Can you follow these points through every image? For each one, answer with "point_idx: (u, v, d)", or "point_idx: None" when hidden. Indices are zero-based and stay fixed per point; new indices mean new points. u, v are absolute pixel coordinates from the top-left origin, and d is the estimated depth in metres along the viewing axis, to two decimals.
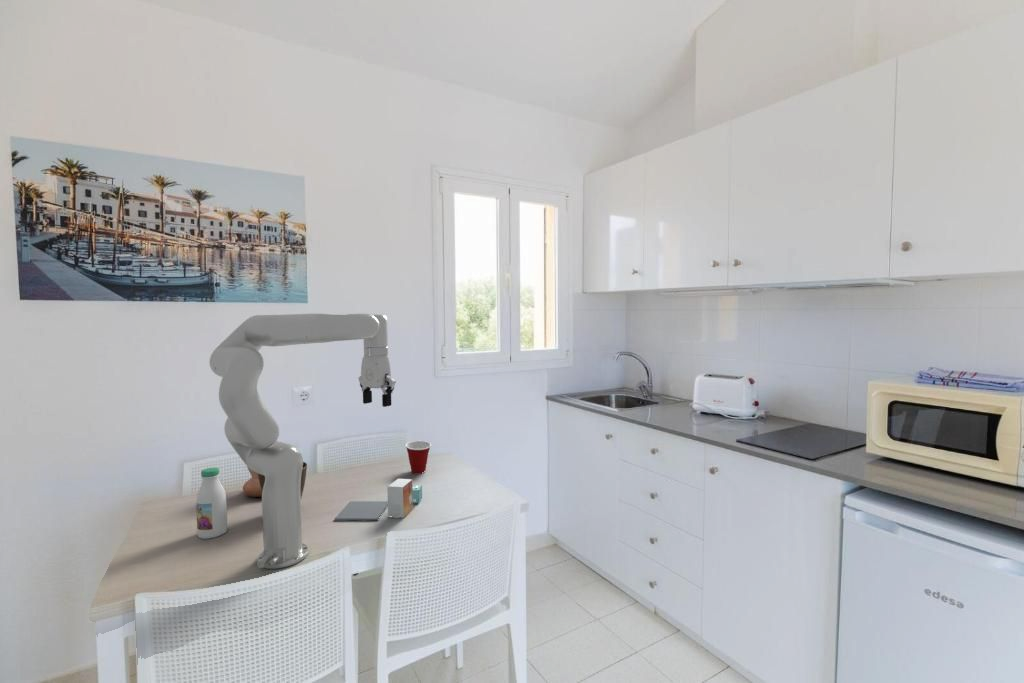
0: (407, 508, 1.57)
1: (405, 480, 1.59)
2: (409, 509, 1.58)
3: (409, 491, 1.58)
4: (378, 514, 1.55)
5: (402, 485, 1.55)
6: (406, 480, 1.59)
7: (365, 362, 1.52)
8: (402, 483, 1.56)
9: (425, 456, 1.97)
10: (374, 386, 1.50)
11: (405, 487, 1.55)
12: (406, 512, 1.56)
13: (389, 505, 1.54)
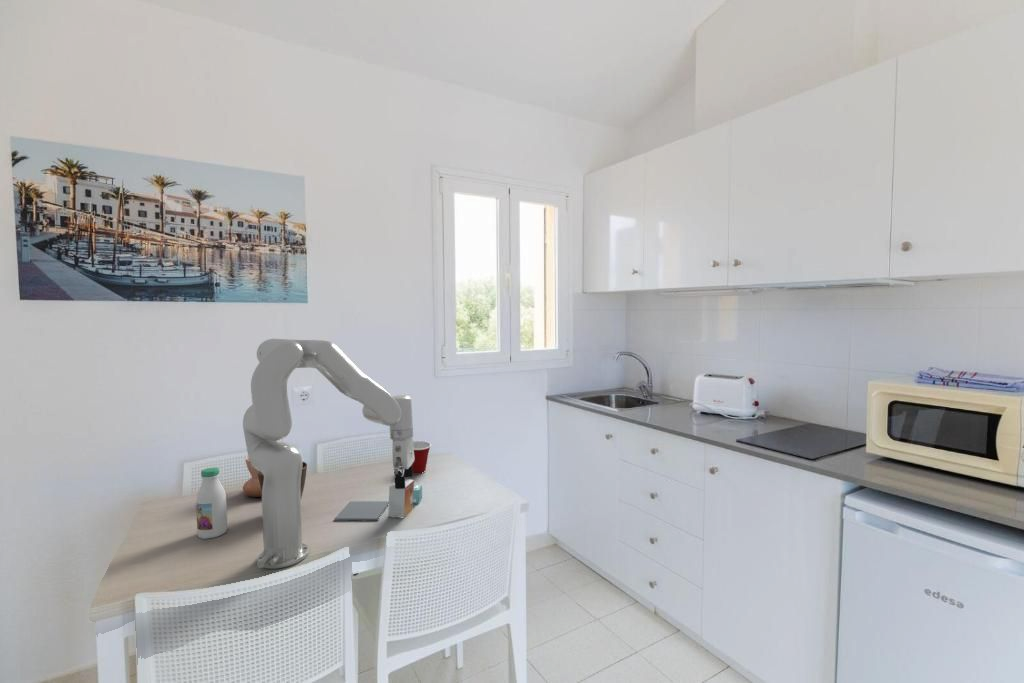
0: (408, 509, 1.57)
1: (407, 480, 1.59)
2: (409, 510, 1.58)
3: (410, 492, 1.58)
4: (378, 514, 1.55)
5: None
6: (408, 480, 1.59)
7: (408, 443, 1.55)
8: None
9: (425, 456, 1.97)
10: (413, 461, 1.60)
11: (407, 488, 1.55)
12: (406, 512, 1.56)
13: (390, 505, 1.54)
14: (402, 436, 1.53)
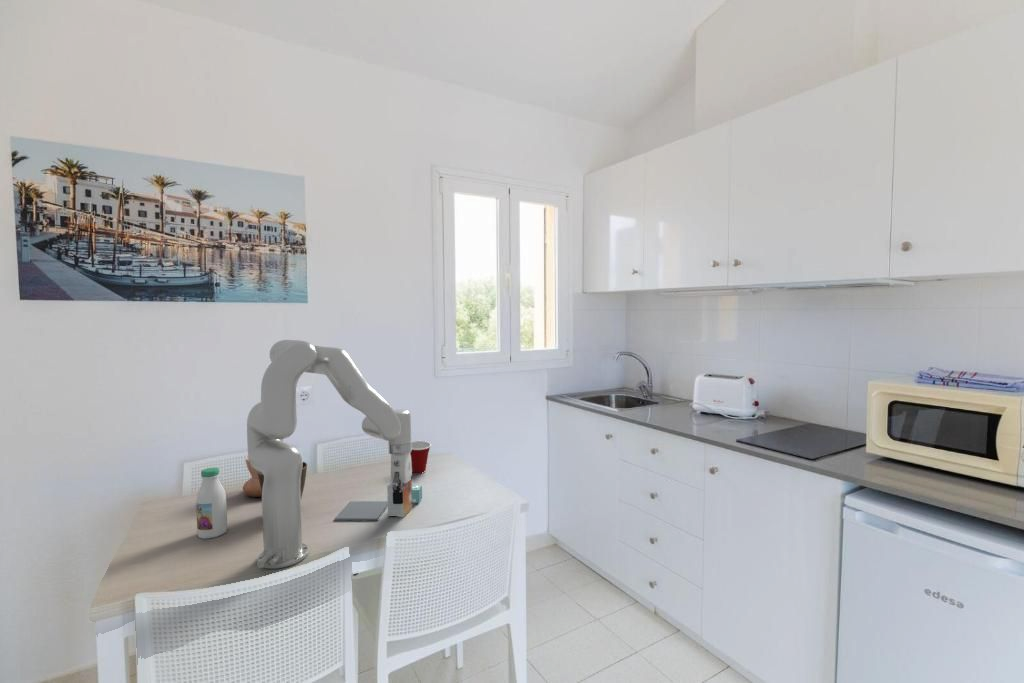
0: (407, 507, 1.57)
1: None
2: (408, 508, 1.59)
3: (409, 491, 1.59)
4: (378, 514, 1.55)
5: None
6: None
7: (407, 457, 1.55)
8: None
9: (425, 456, 1.97)
10: (410, 475, 1.60)
11: (405, 486, 1.55)
12: (406, 511, 1.56)
13: (389, 504, 1.55)
14: (401, 451, 1.53)
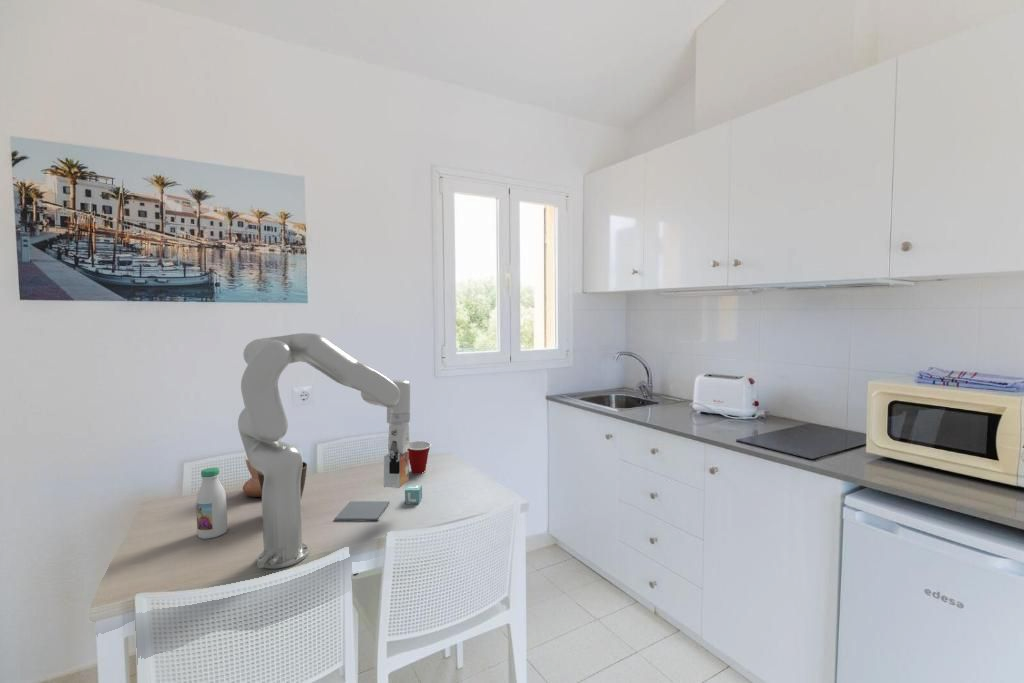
0: (403, 479, 1.56)
1: None
2: (405, 480, 1.57)
3: (405, 462, 1.57)
4: (378, 514, 1.55)
5: (399, 455, 1.54)
6: None
7: (405, 427, 1.54)
8: None
9: (425, 456, 1.97)
10: (408, 447, 1.59)
11: (402, 457, 1.54)
12: (402, 482, 1.55)
13: (385, 475, 1.53)
14: (399, 420, 1.52)
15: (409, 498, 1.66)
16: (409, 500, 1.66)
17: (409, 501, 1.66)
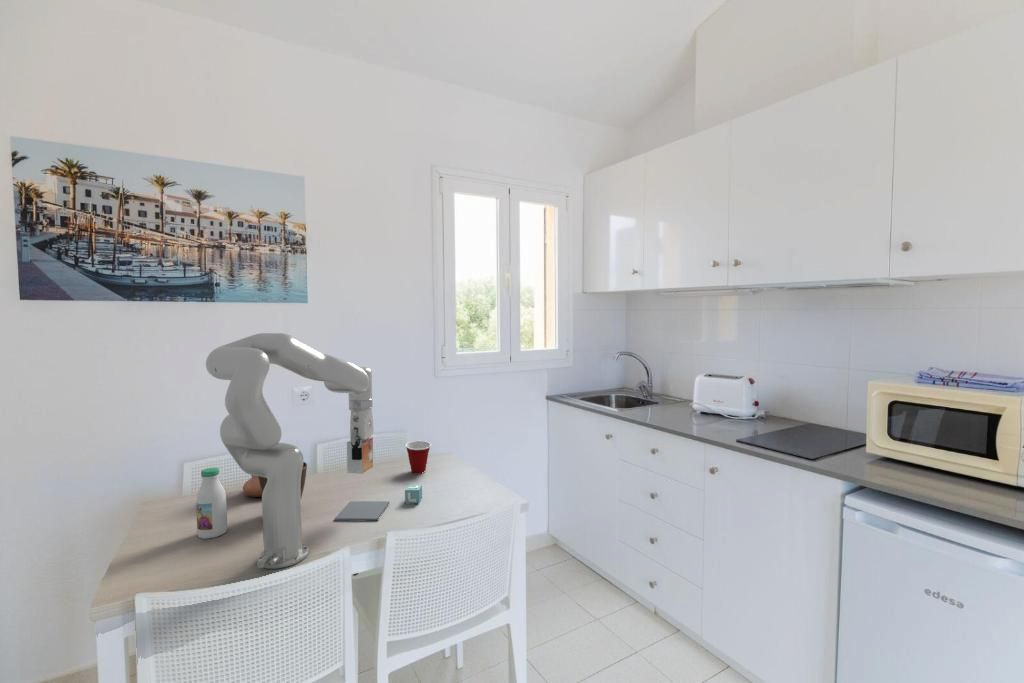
0: (367, 465, 1.57)
1: None
2: (369, 466, 1.59)
3: (369, 448, 1.59)
4: (378, 514, 1.55)
5: None
6: None
7: (367, 414, 1.55)
8: None
9: (425, 456, 1.97)
10: (371, 433, 1.60)
11: (365, 443, 1.55)
12: (365, 468, 1.56)
13: (348, 461, 1.55)
14: (360, 407, 1.53)
15: (409, 498, 1.66)
16: (409, 500, 1.66)
17: (409, 501, 1.66)
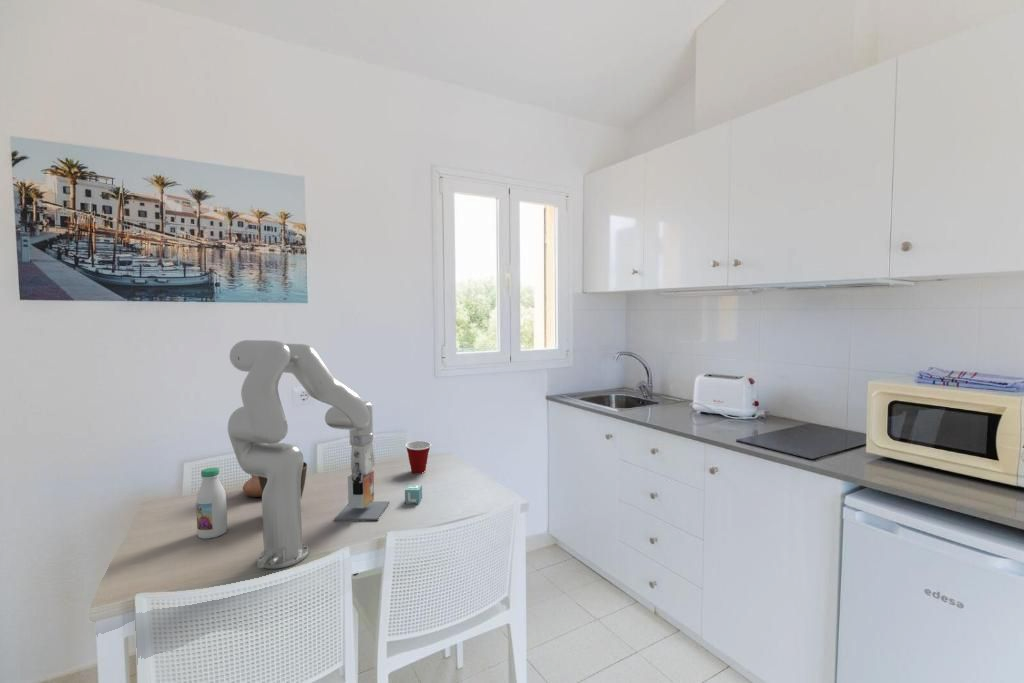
0: (368, 499, 1.58)
1: None
2: (370, 499, 1.59)
3: (370, 482, 1.59)
4: (378, 514, 1.55)
5: None
6: None
7: (368, 449, 1.56)
8: None
9: (425, 456, 1.97)
10: (372, 467, 1.61)
11: (366, 477, 1.56)
12: (367, 502, 1.57)
13: (349, 495, 1.55)
14: (361, 442, 1.54)
15: (409, 498, 1.66)
16: (409, 500, 1.66)
17: (409, 501, 1.66)
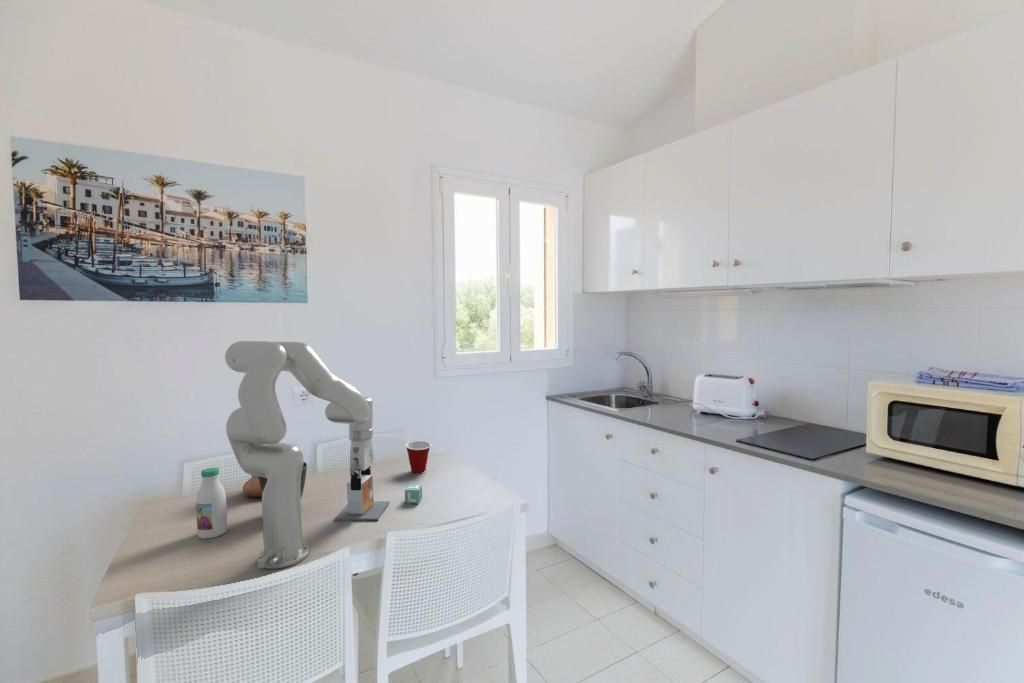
0: (368, 504, 1.58)
1: (365, 476, 1.60)
2: (369, 505, 1.59)
3: (369, 487, 1.59)
4: (378, 514, 1.55)
5: (361, 482, 1.55)
6: (366, 476, 1.60)
7: (367, 444, 1.56)
8: (361, 480, 1.57)
9: (425, 456, 1.97)
10: (371, 463, 1.60)
11: (365, 484, 1.56)
12: (366, 508, 1.57)
13: (349, 502, 1.55)
14: (361, 437, 1.54)
15: (409, 498, 1.66)
16: (409, 500, 1.66)
17: (409, 501, 1.66)
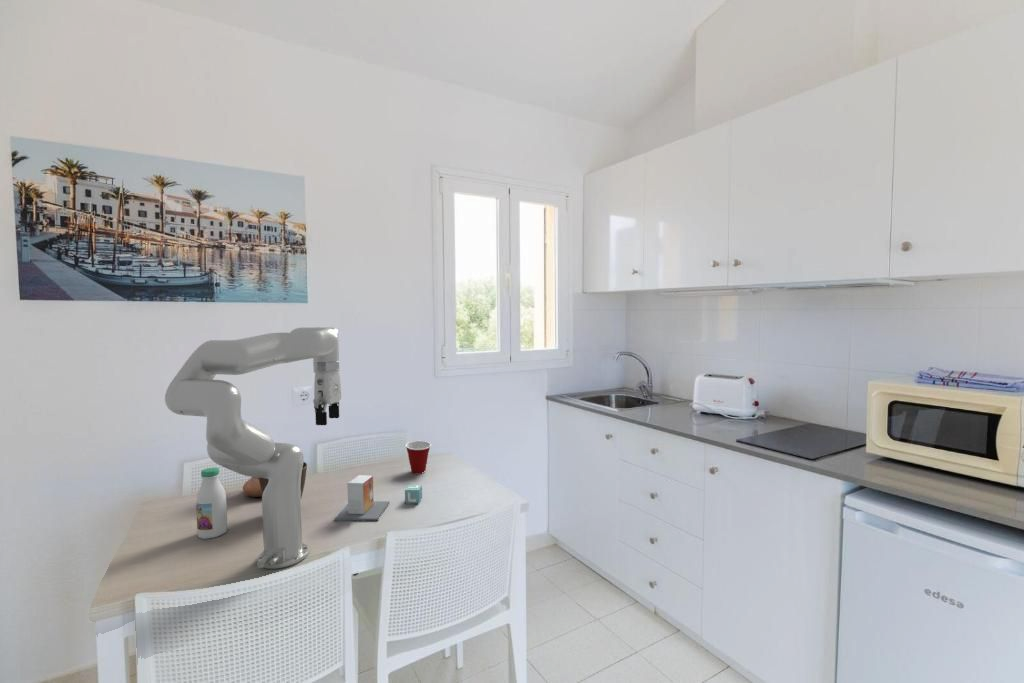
0: (368, 504, 1.58)
1: (366, 476, 1.61)
2: (369, 505, 1.59)
3: (370, 488, 1.59)
4: (378, 514, 1.55)
5: (362, 481, 1.56)
6: (367, 476, 1.61)
7: (333, 377, 1.45)
8: (362, 480, 1.57)
9: (425, 456, 1.97)
10: (339, 399, 1.49)
11: (365, 483, 1.56)
12: (366, 508, 1.57)
13: (349, 501, 1.55)
14: (325, 369, 1.43)
15: (409, 498, 1.66)
16: (409, 500, 1.66)
17: (409, 501, 1.66)
